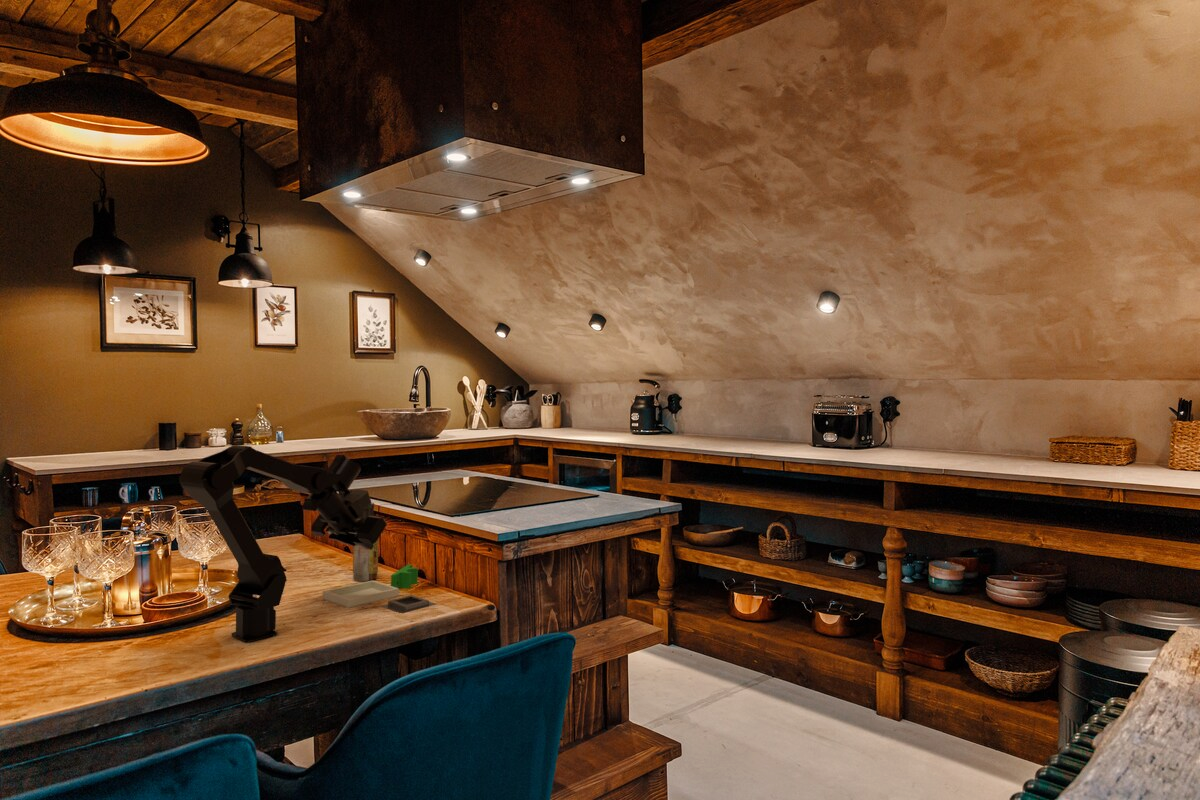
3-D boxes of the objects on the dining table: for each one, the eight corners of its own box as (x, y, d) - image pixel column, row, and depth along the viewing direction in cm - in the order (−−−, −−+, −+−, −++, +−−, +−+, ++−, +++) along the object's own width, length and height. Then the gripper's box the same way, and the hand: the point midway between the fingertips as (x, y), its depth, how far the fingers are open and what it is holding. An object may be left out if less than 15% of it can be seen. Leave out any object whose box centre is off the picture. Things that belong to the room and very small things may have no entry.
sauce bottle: (378, 581, 193) (380, 504, 193) (353, 582, 191) (354, 505, 190) (376, 574, 199) (378, 500, 199) (351, 576, 197) (353, 501, 196)
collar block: (401, 615, 166) (401, 609, 165) (379, 607, 171) (380, 601, 171) (437, 605, 173) (437, 599, 173) (415, 598, 178) (415, 593, 178)
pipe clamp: (405, 594, 183) (405, 576, 182) (390, 593, 183) (391, 575, 183) (421, 582, 194) (422, 564, 194) (408, 581, 194) (408, 563, 194)
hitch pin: (363, 582, 174) (365, 523, 174) (348, 581, 175) (349, 521, 175) (374, 578, 178) (375, 520, 178) (358, 577, 179) (360, 519, 179)
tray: (348, 609, 168) (348, 600, 168) (322, 600, 175) (322, 591, 175) (398, 597, 179) (398, 588, 179) (372, 589, 186) (373, 580, 186)
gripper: (382, 482, 169) (413, 524, 179) (321, 476, 177) (354, 516, 187) (356, 522, 162) (389, 563, 172) (294, 514, 170) (330, 553, 180)
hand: (366, 547), depth 178 cm, fingers closed on hitch pin, 3 cm apart
